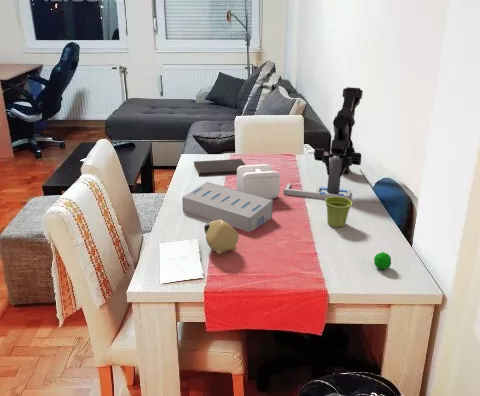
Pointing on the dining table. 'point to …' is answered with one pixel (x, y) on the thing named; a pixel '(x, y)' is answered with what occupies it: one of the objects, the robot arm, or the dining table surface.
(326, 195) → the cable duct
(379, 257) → the polyhedron
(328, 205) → the plant pot
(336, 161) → the grey bottle
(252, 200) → the warehouse
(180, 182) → the dining table surface
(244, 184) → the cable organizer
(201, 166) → the hardcover book
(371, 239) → the dining table surface
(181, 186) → the dining table surface
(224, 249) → the tan rounded figure
